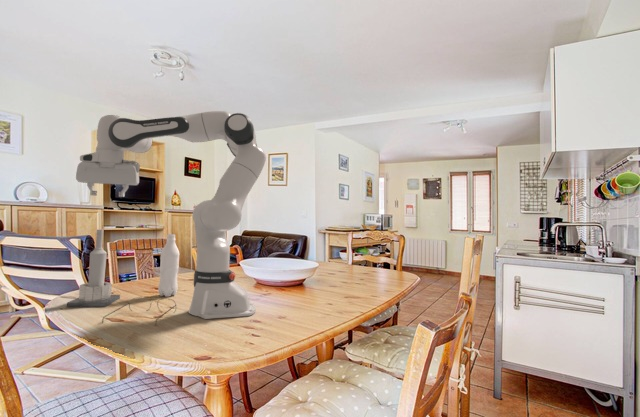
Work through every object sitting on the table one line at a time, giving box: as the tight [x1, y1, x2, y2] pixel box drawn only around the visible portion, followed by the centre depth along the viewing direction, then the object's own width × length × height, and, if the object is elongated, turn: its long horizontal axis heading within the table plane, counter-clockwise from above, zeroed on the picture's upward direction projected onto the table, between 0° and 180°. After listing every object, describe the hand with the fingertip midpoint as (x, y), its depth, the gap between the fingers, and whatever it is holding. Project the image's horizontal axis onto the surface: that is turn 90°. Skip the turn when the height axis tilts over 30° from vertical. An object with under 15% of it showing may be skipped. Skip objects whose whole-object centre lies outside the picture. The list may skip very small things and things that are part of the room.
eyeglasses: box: [101, 296, 177, 327], centre depth 103 cm, size 16×15×5 cm
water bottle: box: [157, 233, 181, 298], centre depth 133 cm, size 7×7×25 cm
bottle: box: [88, 229, 108, 287], centre depth 118 cm, size 5×5×25 cm
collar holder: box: [66, 281, 121, 308], centre depth 117 cm, size 12×12×6 cm
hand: (107, 196), depth 120 cm, fingers open, 8 cm apart
